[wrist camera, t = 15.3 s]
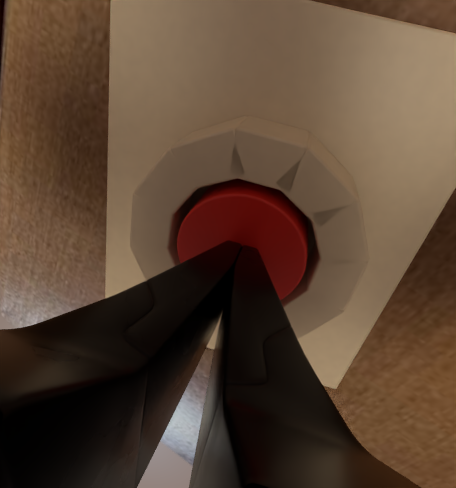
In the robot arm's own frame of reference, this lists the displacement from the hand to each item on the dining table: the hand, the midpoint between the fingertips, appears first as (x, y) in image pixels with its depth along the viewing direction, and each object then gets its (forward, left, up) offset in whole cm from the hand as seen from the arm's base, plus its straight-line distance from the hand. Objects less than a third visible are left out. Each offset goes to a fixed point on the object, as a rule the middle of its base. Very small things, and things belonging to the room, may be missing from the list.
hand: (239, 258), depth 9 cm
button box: (0, 0, -4) cm, 4 cm away
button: (0, 0, -2) cm, 2 cm away
